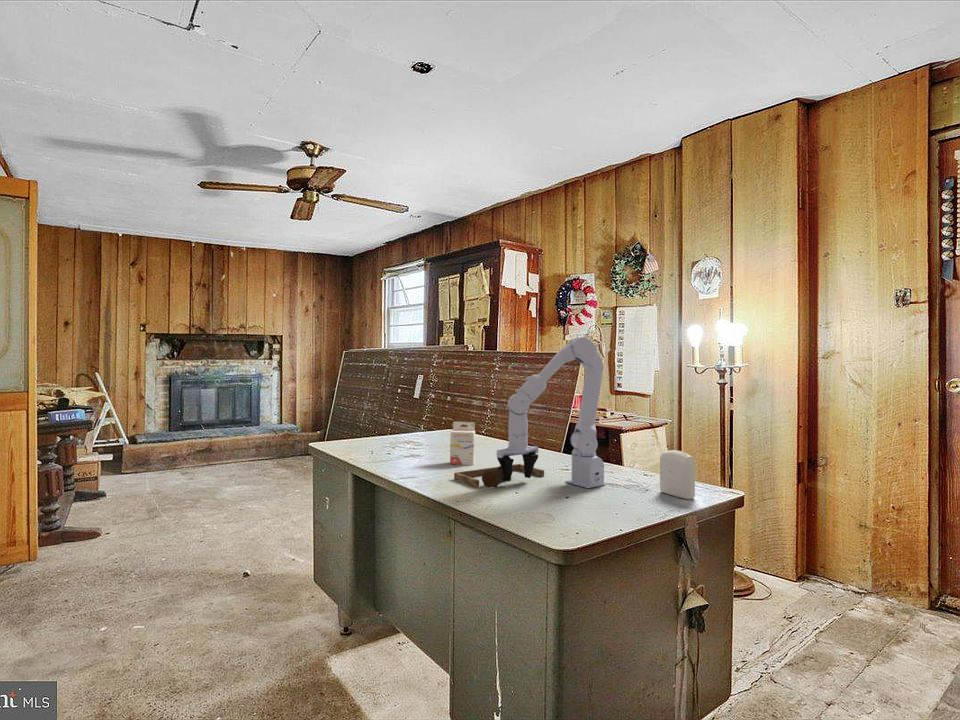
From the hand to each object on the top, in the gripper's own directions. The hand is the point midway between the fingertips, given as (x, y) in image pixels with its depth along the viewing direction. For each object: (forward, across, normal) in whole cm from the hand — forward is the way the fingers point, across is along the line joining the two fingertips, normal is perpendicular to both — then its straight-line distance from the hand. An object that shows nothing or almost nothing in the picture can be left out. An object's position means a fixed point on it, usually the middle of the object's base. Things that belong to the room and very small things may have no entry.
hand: (517, 479), depth 160 cm
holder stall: (+1, 0, -10) cm, 10 cm away
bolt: (+2, +3, -5) cm, 6 cm away
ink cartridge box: (+2, -2, -34) cm, 35 cm away
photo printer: (+2, -29, +35) cm, 45 cm away
